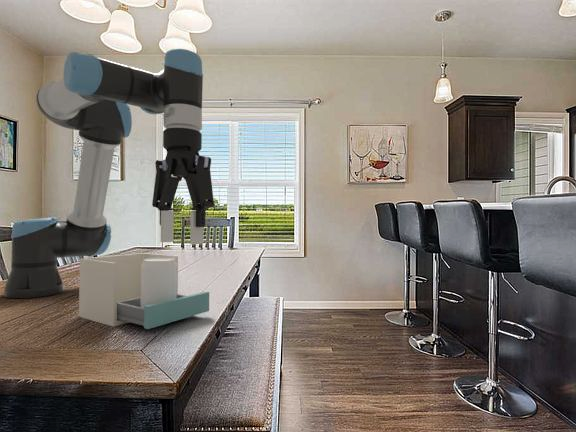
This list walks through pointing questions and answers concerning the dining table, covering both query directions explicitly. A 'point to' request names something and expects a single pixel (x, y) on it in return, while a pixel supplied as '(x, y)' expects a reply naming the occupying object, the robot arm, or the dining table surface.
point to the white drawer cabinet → (110, 284)
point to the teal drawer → (162, 310)
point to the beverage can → (158, 280)
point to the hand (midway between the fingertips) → (181, 242)
